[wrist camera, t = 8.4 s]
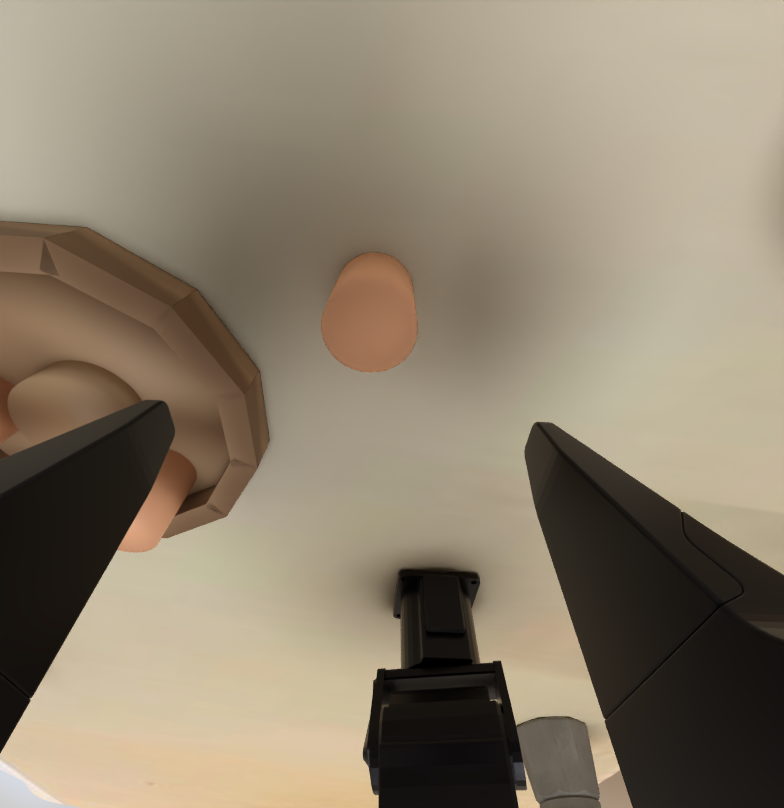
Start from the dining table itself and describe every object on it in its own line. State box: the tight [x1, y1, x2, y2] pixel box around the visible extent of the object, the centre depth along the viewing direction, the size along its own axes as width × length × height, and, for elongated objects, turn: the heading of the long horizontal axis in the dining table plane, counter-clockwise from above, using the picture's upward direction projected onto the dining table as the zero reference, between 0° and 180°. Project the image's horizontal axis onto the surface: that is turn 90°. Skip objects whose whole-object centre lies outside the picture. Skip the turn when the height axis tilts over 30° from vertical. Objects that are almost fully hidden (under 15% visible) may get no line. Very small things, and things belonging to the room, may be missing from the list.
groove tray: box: [0, 221, 269, 538], centre depth 20 cm, size 18×18×3 cm
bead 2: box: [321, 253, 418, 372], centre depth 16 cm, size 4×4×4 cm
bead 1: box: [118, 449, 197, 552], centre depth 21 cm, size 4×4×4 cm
